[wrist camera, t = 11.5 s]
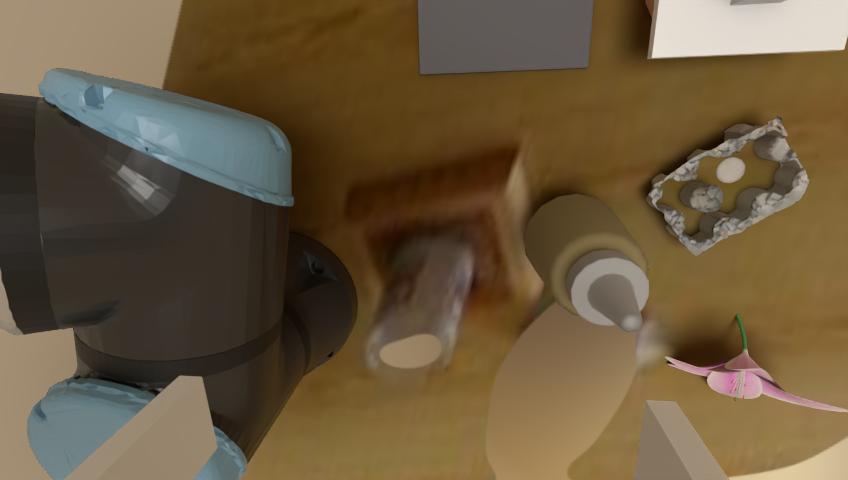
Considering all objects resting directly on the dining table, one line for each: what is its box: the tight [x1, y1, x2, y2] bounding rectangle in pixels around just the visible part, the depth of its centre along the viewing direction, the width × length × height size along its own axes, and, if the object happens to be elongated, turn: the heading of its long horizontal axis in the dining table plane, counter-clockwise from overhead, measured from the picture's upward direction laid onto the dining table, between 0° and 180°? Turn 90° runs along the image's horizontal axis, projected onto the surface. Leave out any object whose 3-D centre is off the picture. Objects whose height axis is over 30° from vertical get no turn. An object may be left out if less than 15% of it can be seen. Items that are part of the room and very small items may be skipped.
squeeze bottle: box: [524, 194, 649, 332], centre depth 30 cm, size 8×8×18 cm
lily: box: [665, 314, 848, 412], centre depth 37 cm, size 12×12×10 cm
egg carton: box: [646, 116, 809, 256], centre depth 34 cm, size 11×8×4 cm
